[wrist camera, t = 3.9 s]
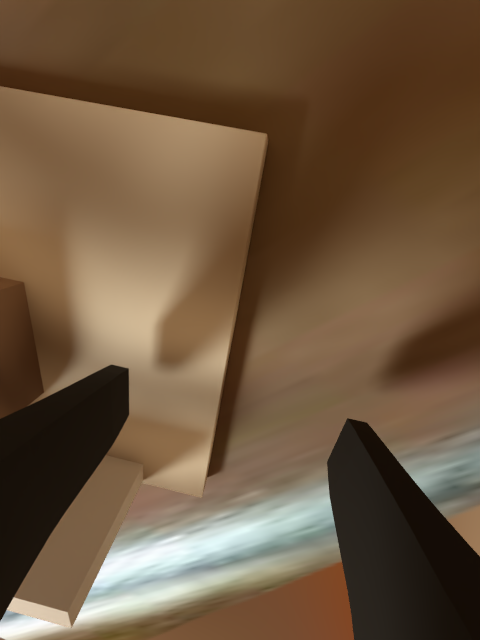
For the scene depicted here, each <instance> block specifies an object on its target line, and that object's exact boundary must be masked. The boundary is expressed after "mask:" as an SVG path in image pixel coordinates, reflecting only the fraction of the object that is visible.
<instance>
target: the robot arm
mask: <svg viewBox="0 0 480 640" xmlns="http://www.w3.org/2000/svg"><path fill="white" fill-rule="evenodd" d="M128 416H129V368H125V367H120V366H116V365H109V366H107V367H105V368H103V369H101V370H99V371H97V372H95V373H93V374H91V375H89V376H87V377H85V378H83V379H81V380H79V381H77V382H75V383H73V384H71V385H70V386H68V387H66V388H64V389H62V390H60V391H58V392H56V393H54V394H52V395H50V396H48V397H46V398H44V399H42V400H40V401H38V402H35V403H33V404H31V405H29V406H27V407H25V408H22V409H20V410H18V411H16V412H14V413H12V414H9V415H7V416H5V417H3V418H1V419H0V620H1V619H2V617H3V615H4V614H5V612H6V610H7V608H8V607H9V605H10V603H11V601H12V600H13V598H14V596H15V594H16V593H17V591H18V589H19V587H20V586H21V584H22V582H23V580H24V579H25V577H26V575H27V573H28V572H29V570H30V568H31V567H32V565H33V563H34V562H35V560H36V558H37V557H38V555H39V553H40V552H41V550H42V548H43V547H44V545H45V543H46V542H47V540H48V538H49V537H50V535H51V533H52V532H53V530H54V529H55V527H56V526H57V524H58V523H59V521H60V520H61V518H62V517H63V515H64V514H65V512H66V511H67V509H68V508H69V507H70V505H71V504H72V502H73V501H74V500H75V498H76V497H77V495H78V494H79V492H80V491H81V490H82V488H83V487H84V485H85V484H86V483H87V481H88V480H89V478H90V477H91V475H92V474H93V473H94V471H95V470H96V468H97V467H98V466H99V464H100V463H101V461H102V460H103V458H104V457H105V455H106V454H107V453H108V451H109V450H110V448H111V447H112V445H113V444H114V442H115V440H116V438H117V437H118V435H119V433H120V431H121V430H122V428H123V426H124V424H125V422H126V420H127V418H128ZM327 465H328V481H329V492H330V500H331V506H332V511H333V516H334V522H335V527H336V532H337V537H338V543H339V548H340V553H341V558H342V563H343V569H344V574H345V579H346V584H347V589H348V596H349V602H350V608H351V614H352V624H353V632H354V640H480V556H479V555H478V554H477V553H476V552H475V551H474V550H473V549H472V548H471V547H470V546H469V544H468V543H467V542H466V541H465V540H464V539H463V538H462V536H461V535H460V534H459V533H458V532H457V531H456V530H455V529H454V527H453V526H452V525H451V524H450V523H449V522H448V521H447V520H446V518H445V517H444V516H443V515H442V514H441V513H440V512H439V510H438V509H437V508H436V507H435V506H434V504H433V503H432V502H431V501H430V500H429V499H428V497H427V496H426V495H425V494H424V493H423V491H422V490H421V489H420V488H419V487H418V485H417V484H416V483H415V482H414V481H413V479H412V478H411V477H410V476H409V474H408V473H407V472H406V471H405V469H404V468H403V467H402V466H401V464H400V463H399V462H398V461H397V459H396V458H395V457H394V456H393V454H392V453H391V452H390V451H389V449H388V448H387V447H386V446H385V444H384V443H383V442H382V441H381V439H380V438H379V437H378V436H377V434H376V433H375V432H374V431H373V429H372V428H371V427H370V426H369V425H368V424H367V423H366V422H361V421H357V420H353V419H348V418H347V420H346V422H345V425H344V427H343V429H342V431H341V433H340V435H339V438H338V440H337V442H336V444H335V446H334V448H333V450H332V453H331V455H330V457H329V459H328V461H327Z"/></svg>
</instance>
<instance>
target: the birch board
mask: <svg viewBox="0 0 480 640" xmlns="http://www.w3.org/2000/svg"><path fill="white" fill-rule="evenodd" d="M267 146H268V137H267V134H265V133H259V132H254V131H248V130H243V129H237V128H231V127H226V126H220V125H215V124H209V123H203V122H198V121H192V120H187V119H181V118H175V117H170V116H164V115H159V114H153V113H147V112H142V111H136V110H131V109H125V108H119V107H114V106H108V105H103V104H97V103H91V102H86V101H80V100H75V99H69V98H63V97H58V96H52V95H47V94H41V93H35V92H30V91H24V90H18V89H13V88H7V87H2V86H0V277H2V278H7V279H11V280H16V281H21V282H24V286H25V291H26V296H27V302H28V307H29V313H30V318H31V324H32V329H33V334H34V340H35V345H36V351H37V356H38V361H39V367H40V372H41V378H42V383H43V388H44V393H43V394H42V395H40V396H39V397H38V398H37V399H36V400H34V401H33V402H32V403H31V404H33V403H35V402H38V401H40V400H42V399H44V398H46V397H48V396H50V395H52V394H54V393H56V392H58V391H60V390H62V389H64V388H66V387H68V386H70V385H71V384H73V383H75V382H77V381H79V380H81V379H83V378H85V377H87V376H89V375H91V374H93V373H95V372H97V371H99V370H101V369H103V368H105V367H107V366H109V365H116V366H120V367H125V368H129V416H128V418H127V420H126V422H125V424H124V426H123V428H122V430H121V431H120V433H119V435H118V437H117V438H116V440H115V442H114V444H113V445H112V447H111V448H110V450H109V451H108V453H107V454H106V455H107V456H111V457H115V458H119V459H123V460H127V461H131V462H136V463H140V464H143V482H142V483H145V484H149V485H153V486H157V487H161V488H165V489H169V490H173V491H177V492H181V493H185V494H189V495H193V496H197V497H201V498H202V495H203V491H204V487H205V484H206V480H207V475H208V469H209V464H210V458H211V453H212V447H213V442H214V436H215V431H216V425H217V420H218V414H219V409H220V404H221V398H222V393H223V387H224V382H225V376H226V371H227V365H228V360H229V354H230V349H231V343H232V338H233V332H234V327H235V321H236V316H237V310H238V305H239V299H240V294H241V288H242V283H243V278H244V272H245V267H246V261H247V256H248V250H249V245H250V239H251V234H252V228H253V223H254V217H255V212H256V206H257V201H258V195H259V190H260V184H261V179H262V173H263V168H264V163H265V157H266V152H267ZM31 404H29V405H31ZM29 405H28V406H29Z"/></svg>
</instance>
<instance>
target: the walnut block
mask: <svg viewBox="0 0 480 640" xmlns="http://www.w3.org/2000/svg"><path fill="white" fill-rule="evenodd" d="M43 393H44V388H43V383H42V378H41V372H40V367H39V361H38V356H37V351H36V345H35V340H34V334H33V329H32V324H31V318H30V313H29V307H28V302H27V296H26V291H25V286H24V282H21V281H16V280H11V279H7V278H2V277H0V419H1V418H3V417H5V416H7V415H9V414H12V413H14V412H16V411H18V410H20V409H22V408H25V407H27V406H28V405H29V404H31V403H32V402H33V401H34V400H36V399H37V398H38V397H39V396H40V395H42V394H43Z"/></svg>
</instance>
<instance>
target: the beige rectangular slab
mask: <svg viewBox="0 0 480 640" xmlns="http://www.w3.org/2000/svg"><path fill="white" fill-rule="evenodd" d="M142 482H143V464H140V463H136V462H131V461H127V460H123V459H119V458H115V457H111V456H107V455H105V457H104V458H103V460H102V461H101V463H100V464H99V466H98V467H97V468H96V470H95V471H94V473H93V474H92V475H91V477H90V478H89V480H88V481H87V483H86V484H85V485H84V487H83V488H82V490H81V491H80V492H79V494H78V495H77V497H76V498H75V500H74V501H73V502H72V504H71V505H70V507H69V508H68V509H67V511H66V512H65V514H64V515H63V517H62V518H61V520H60V521H59V523H58V524H57V526H56V527H55V529H54V530H53V532H52V533H51V535H50V537H49V538H48V540H47V542H46V543H45V545H44V547H43V548H42V550H41V552H40V553H39V555H38V557H37V558H36V560H35V562H34V563H33V565H32V567H31V568H30V570H29V572H28V573H27V575H26V577H25V579H24V580H23V582H22V584H21V586H20V587H19V589H18V591H17V593H16V594H15V596H14V598H13V600H12V601H11V603H10V605H9V607H8V608H7V610H9V611H13V612H16V613H20V614H23V615H27V616H30V617H34V618H37V619H41V620H45V621H48V622H52V623H55V624H59V625H62V626H66V627H70V628H72V626H73V624H74V622H75V620H76V618H77V616H78V614H79V612H80V609H81V607H82V605H83V603H84V601H85V599H86V597H87V595H88V593H89V591H90V589H91V587H92V585H93V583H94V581H95V579H96V576H97V574H98V572H99V570H100V568H101V566H102V564H103V562H104V560H105V558H106V556H107V554H108V552H109V550H110V548H111V546H112V543H113V541H114V539H115V537H116V535H117V533H118V531H119V529H120V527H121V525H122V523H123V521H124V519H125V517H126V515H127V512H128V510H129V508H130V506H131V504H132V502H133V500H134V498H135V496H136V494H137V492H138V490H139V488H140V486H141V484H142Z"/></svg>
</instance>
